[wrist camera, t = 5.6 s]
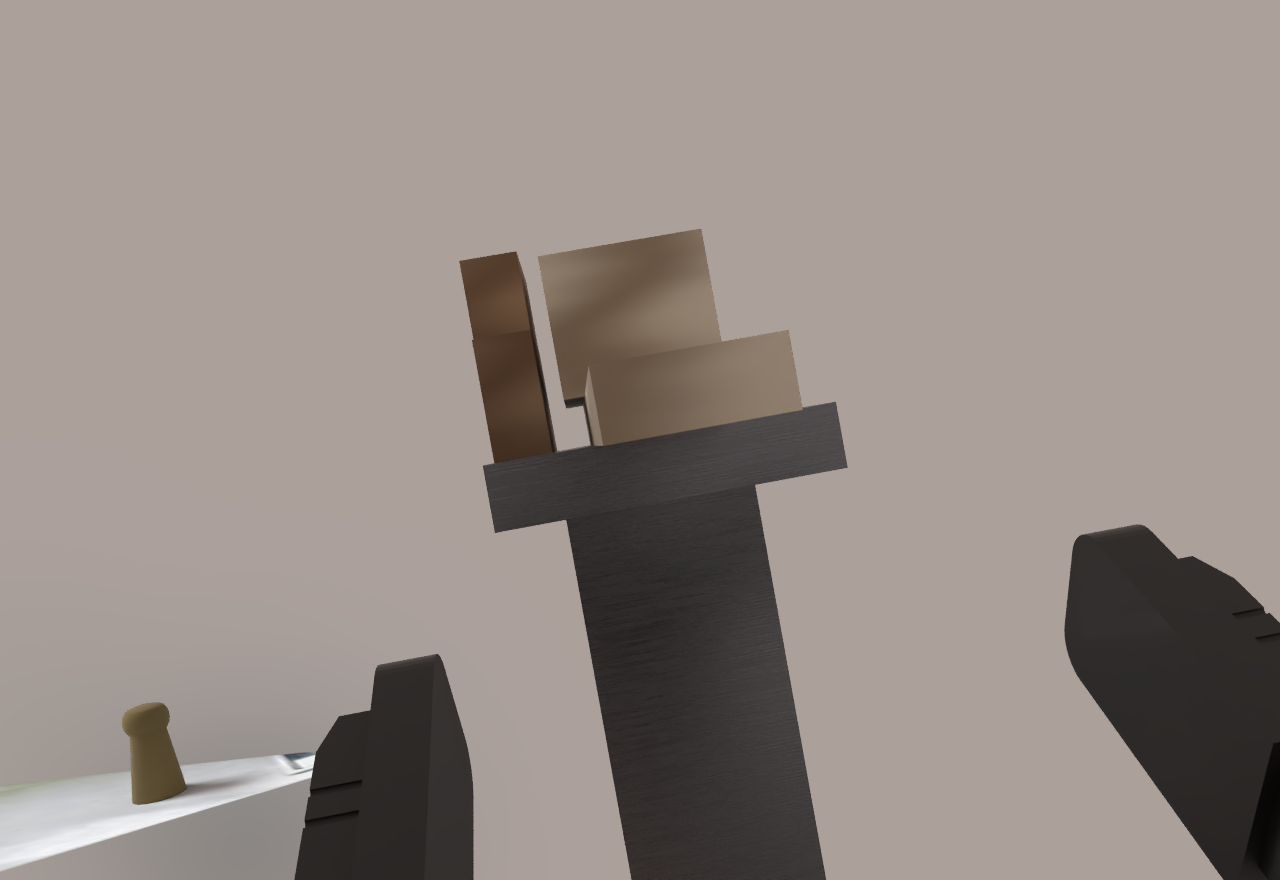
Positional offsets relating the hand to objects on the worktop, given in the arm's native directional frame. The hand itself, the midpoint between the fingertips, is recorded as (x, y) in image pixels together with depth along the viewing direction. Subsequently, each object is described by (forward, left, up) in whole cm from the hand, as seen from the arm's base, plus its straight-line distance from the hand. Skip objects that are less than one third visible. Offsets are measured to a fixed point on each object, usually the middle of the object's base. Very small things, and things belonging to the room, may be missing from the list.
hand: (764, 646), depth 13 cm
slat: (0, +10, +3) cm, 11 cm away
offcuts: (-3, +15, +3) cm, 16 cm away
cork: (-59, +118, -30) cm, 136 cm away
